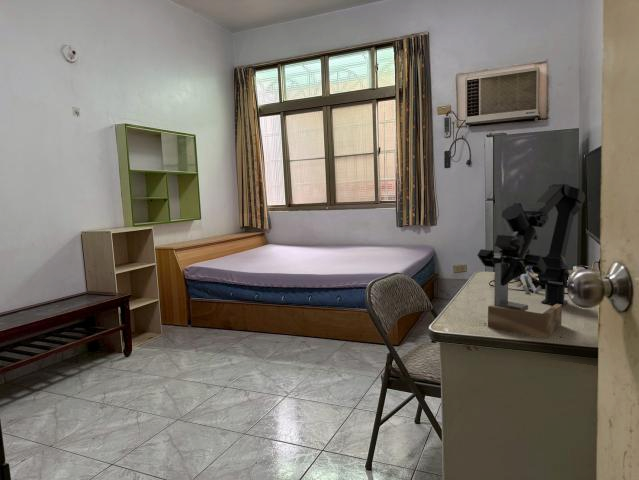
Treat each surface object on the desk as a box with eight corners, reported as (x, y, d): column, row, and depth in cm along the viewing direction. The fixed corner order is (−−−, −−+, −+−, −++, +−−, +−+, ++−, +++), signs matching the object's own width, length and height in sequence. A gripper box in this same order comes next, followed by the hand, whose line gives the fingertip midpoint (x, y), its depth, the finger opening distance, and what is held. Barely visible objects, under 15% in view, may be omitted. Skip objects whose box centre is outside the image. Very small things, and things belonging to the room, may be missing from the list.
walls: (506, 315, 134) (506, 296, 133) (561, 325, 123) (562, 304, 122) (487, 326, 123) (488, 306, 123) (545, 338, 113) (546, 316, 112)
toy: (517, 281, 160) (507, 256, 187) (516, 302, 162) (506, 275, 190) (547, 282, 157) (533, 257, 185) (546, 304, 159) (531, 275, 187)
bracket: (502, 303, 128) (502, 262, 126) (528, 309, 122) (529, 265, 120) (494, 306, 125) (495, 263, 124) (520, 312, 119) (521, 267, 118)
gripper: (481, 222, 133) (458, 263, 128) (542, 226, 118) (520, 271, 113) (495, 245, 138) (474, 285, 133) (555, 251, 124) (534, 296, 118)
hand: (498, 284), depth 124 cm, fingers closed on bracket, 2 cm apart
